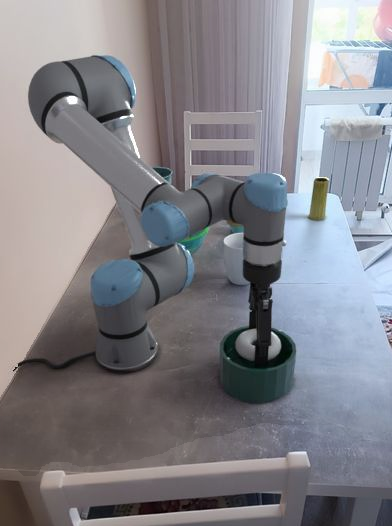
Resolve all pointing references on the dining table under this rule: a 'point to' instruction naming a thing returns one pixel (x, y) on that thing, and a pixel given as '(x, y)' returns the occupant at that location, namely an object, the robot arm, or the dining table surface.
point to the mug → (234, 258)
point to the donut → (248, 349)
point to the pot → (256, 370)
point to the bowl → (194, 241)
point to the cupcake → (236, 227)
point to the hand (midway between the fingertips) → (257, 350)
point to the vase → (319, 199)
